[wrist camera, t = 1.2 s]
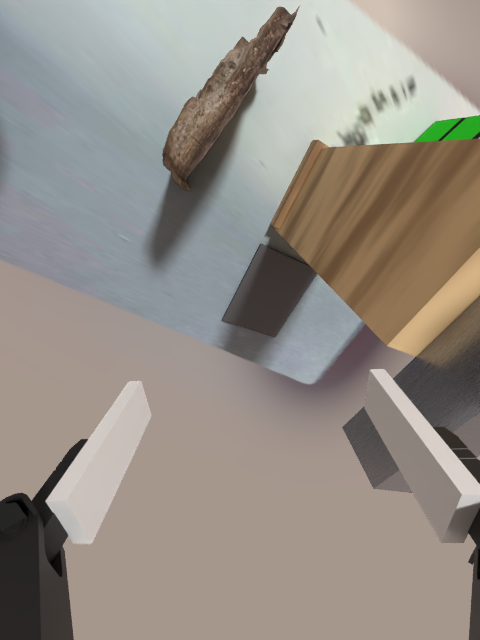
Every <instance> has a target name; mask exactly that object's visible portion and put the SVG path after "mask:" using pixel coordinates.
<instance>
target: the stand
mask: <svg viewBox="0 0 480 640" xmlns="http://www.w3.org/2000/svg"><path fill="white" fill-rule="evenodd" d="M271 224H272V225H273V226H274V227H275V230H276V231H277V232H278V233H279V234H280V235H281V236H282V237H283V238H284V239H285V240H286V242H287V243H288V244H289V245H290V246H291V247H292V248H293V249H294V250H295V251H296V252H297V253H298V254H299V255H300V256H301V257H302V258H303V259H304V260H305V261H306V262H307V263H308V264H309V265H310V266H311V267H312V268H313V270H314V271H315V272H316V273H317V274H318V275H319V276H320V277H321V278H322V279H323V280H324V281H325V282H326V283H327V284H328V285H329V286H330V287H331V288H332V289H333V290H334V291H335V292H336V293H337V294H338V295H339V296H340V298H341V299H342V300H343V301H344V302H345V303H346V304H347V305H348V306H349V307H350V308H351V309H352V310H353V311H354V312H355V313H356V314H357V315H358V316H359V317H360V318H361V319H362V320H363V321H364V322H365V323H366V325H368V327H369V328H370V329H371V330H372V331H373V332H374V333H375V334H376V335H377V336H378V337H379V338H380V339H381V340H382V341H383V342H384V343H385V344H386V345H387V346H389V347H392V348H394V349H397V350H399V351H402V352H405V353H407V354H410V355H413V356H415V357H416V356H417V355H418V354H419V353H420V352H421V351H422V350H424V349H425V348H426V347H427V346H428V345H429V344H430V343H431V342H432V341H433V340H434V339H435V338H436V337H437V336H438V335H439V334H440V333H441V332H442V331H443V330H444V329H445V328H446V327H447V326H449V325H450V324H451V323H452V322H453V321H454V320H455V319H456V318H457V317H458V316H459V315H460V314H461V313H462V312H463V311H464V310H465V309H466V308H467V307H468V306H469V305H470V304H471V303H473V302H474V301H475V300H476V299H477V298H478V297H479V296H480V139H463V140H446V141H429V142H413V143H396V144H379V145H362V146H345V147H328V146H327V145H325V144H324V143H322V142H321V141H319V140H313V141H312V143H311V145H310V147H309V149H308V151H307V153H306V155H305V157H304V159H303V160H302V162H301V164H300V166H299V168H298V170H297V172H296V174H295V176H294V178H293V180H292V182H291V184H290V186H289V188H288V190H287V192H286V194H285V196H284V198H283V200H282V202H281V204H280V206H279V208H278V210H277V212H276V214H275V216H274V218H273V220H272V222H271Z"/></svg>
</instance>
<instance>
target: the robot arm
mask: <svg viewBox="0 0 480 640" xmlns="http://www.w3.org/2000/svg"><path fill="white" fill-rule="evenodd" d="M364 408H365V410H366V412H367V414H368V415H369V417H370V419H371V421H372V422H373V424H374V426H375V428H376V429H377V431H378V433H379V435H380V436H381V438H382V440H383V442H384V443H385V445H386V447H387V449H388V450H389V452H390V454H391V456H392V458H393V459H394V461H395V463H396V465H397V466H398V468H399V470H400V472H401V473H402V475H403V477H404V479H405V480H406V482H407V484H408V486H409V487H410V489H411V491H412V493H413V494H414V496H415V498H416V500H417V501H418V503H419V505H420V507H421V508H422V510H423V512H424V514H425V515H426V517H427V519H428V521H429V522H430V524H431V526H432V528H433V530H434V531H435V533H436V535H437V536H438V538H439V540H440V542H441V543H464V541H465V539H466V537H467V535H468V533H469V534H470V536H471V537H472V539H473V540H474V542H475V543H476V545H477V546H476V548H475V549H474V551H473V553H472V555H471V557H470V559H469V563H471V564H473V563H474V569H473V583H472V599H471V615H470V630H469V640H480V460H477V458H476V456H475V455H474V454H473V453H472V452H471V451H470V450H468V447H467V446H466V445H465V444H464V443H463V442H462V441H461V440H460V438H459V437H458V436H456V435H455V434H454V433H452V432H451V431H449V430H448V429H446V428H445V427H432V426H431V425H430V424H429V422H428V421H427V420H426V419H425V418H424V416H423V415H422V414H421V413H420V412H419V410H418V409H417V408H416V407H415V406H414V404H413V403H412V402H411V401H410V400H409V398H408V397H407V396H406V395H405V394H404V392H403V391H402V390H401V389H400V388H399V386H398V385H397V384H396V383H395V381H394V380H393V379H392V378H391V377H390V375H389V374H388V373H387V372H386V371H385V369H374V370H370V372H369V380H368V386H367V392H366V399H365V406H364ZM151 417H152V415H151V412H150V409H149V405H148V402H147V399H146V396H145V392H144V389H143V386H142V382H141V381H130V382H128V383H127V385H126V386H125V387H124V389H123V390H122V392H121V393H120V395H119V396H118V397H117V399H116V400H115V402H114V403H113V405H112V406H111V408H110V409H109V410H108V412H107V413H106V415H105V416H104V418H103V419H102V421H101V422H100V423H99V425H98V426H97V428H96V429H95V431H94V432H93V433H92V435H91V436H90V438H89V439H81V440H80V441H79V442H78V443H77V444H75V445H74V446H73V447H72V448H71V449H70V450H69V451H68V453H67V454H66V455H65V457H64V458H63V460H62V462H60V463H59V465H58V466H57V467H56V470H55V471H53V473H52V474H51V475H50V477H49V478H48V480H47V481H46V482H45V484H44V485H43V486H42V488H41V489H40V490H39V492H38V493H37V494H36V496H35V497H34V498H33V500H32V501H31V500H30V499H29V497H28V496H27V495H26V494H23V493H17V494H14V495H11V496H9V497H6V498H5V499H3V500H2V501H0V640H74V639H73V629H72V619H71V611H70V610H71V609H70V600H69V590H68V581H67V570H66V561H65V551H64V549H63V543H64V542H65V540H66V538H67V537H69V538H70V539H71V541H72V543H73V544H92V542H93V540H94V538H95V536H96V534H97V532H98V529H99V527H100V525H101V523H102V521H103V519H104V517H105V515H106V512H107V510H108V508H109V506H110V504H111V502H112V500H113V498H114V495H115V493H116V491H117V489H118V487H119V485H120V483H121V481H122V478H123V476H124V474H125V472H126V470H127V468H128V466H129V464H130V461H131V459H132V457H133V455H134V453H135V451H136V448H137V446H138V444H139V442H140V440H141V438H142V436H143V434H144V431H145V429H146V427H147V425H148V423H149V421H150V419H151Z"/></svg>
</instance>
